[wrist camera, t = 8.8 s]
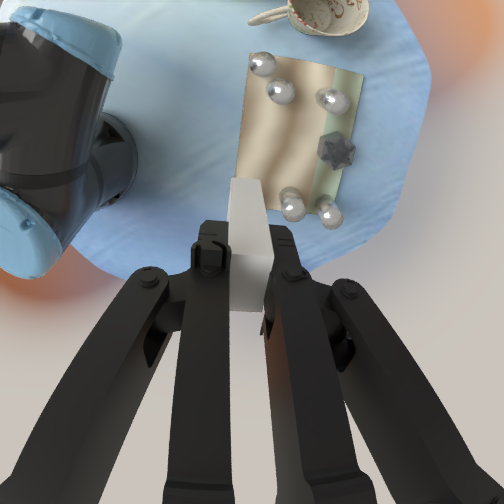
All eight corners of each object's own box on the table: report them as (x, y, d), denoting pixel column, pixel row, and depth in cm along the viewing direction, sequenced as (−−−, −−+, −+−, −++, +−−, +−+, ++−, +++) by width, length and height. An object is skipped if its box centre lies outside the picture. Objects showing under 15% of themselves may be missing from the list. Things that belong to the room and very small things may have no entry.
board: (232, 202, 44) (232, 205, 43) (250, 53, 31) (250, 52, 30) (328, 212, 45) (330, 216, 44) (360, 74, 32) (363, 75, 31)
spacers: (232, 202, 42) (231, 219, 38) (250, 52, 30) (250, 50, 26) (331, 213, 44) (339, 230, 40) (363, 75, 31) (379, 77, 27)
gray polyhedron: (321, 167, 39) (325, 173, 37) (311, 139, 37) (315, 144, 35) (353, 156, 38) (359, 161, 36) (345, 128, 36) (351, 132, 34)
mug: (349, 36, 29) (380, 30, 21) (260, 58, 31) (265, 55, 23) (327, -16, 24) (352, -36, 16) (236, 6, 27) (234, -14, 19)
